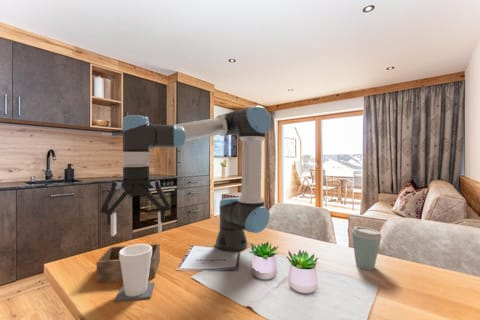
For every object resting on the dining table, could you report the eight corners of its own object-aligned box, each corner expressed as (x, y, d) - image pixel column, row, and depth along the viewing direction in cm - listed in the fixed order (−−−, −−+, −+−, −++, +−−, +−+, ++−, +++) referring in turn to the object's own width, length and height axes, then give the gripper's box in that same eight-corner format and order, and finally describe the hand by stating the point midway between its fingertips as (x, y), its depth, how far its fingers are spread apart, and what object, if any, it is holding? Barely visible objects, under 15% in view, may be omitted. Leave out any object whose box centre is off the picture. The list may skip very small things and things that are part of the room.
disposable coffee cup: (366, 259, 101) (367, 224, 101) (388, 271, 90) (388, 232, 90) (345, 261, 98) (345, 225, 98) (364, 274, 88) (365, 234, 88)
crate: (159, 260, 97) (159, 244, 97) (154, 277, 84) (154, 258, 84) (110, 264, 93) (110, 246, 93) (96, 282, 80) (96, 262, 80)
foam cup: (139, 301, 69) (139, 257, 69) (112, 297, 71) (112, 254, 71) (157, 284, 78) (157, 245, 78) (132, 281, 80) (132, 242, 80)
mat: (154, 284, 80) (154, 282, 80) (150, 298, 72) (150, 296, 72) (122, 287, 78) (122, 285, 78) (114, 302, 70) (114, 299, 70)
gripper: (178, 164, 80) (178, 227, 81) (97, 165, 75) (98, 232, 76) (176, 165, 73) (177, 234, 73) (86, 167, 68) (88, 240, 68)
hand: (137, 233), depth 75 cm, fingers open, 13 cm apart
